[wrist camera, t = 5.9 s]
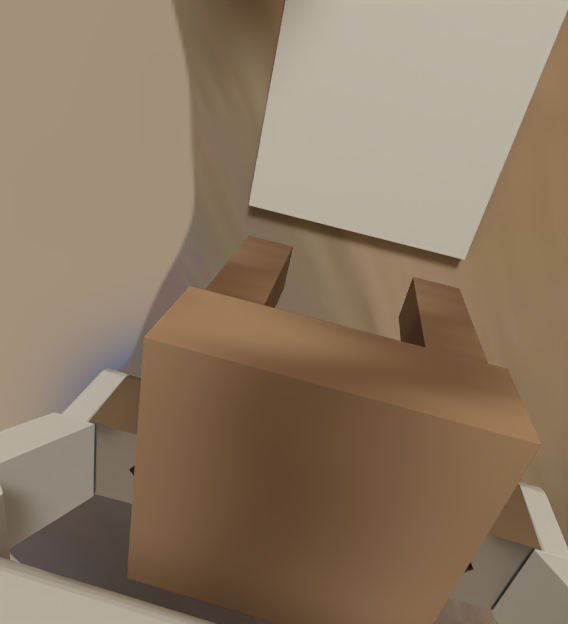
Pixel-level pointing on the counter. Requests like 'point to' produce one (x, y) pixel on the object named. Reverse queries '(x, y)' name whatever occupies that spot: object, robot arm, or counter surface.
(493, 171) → the mat
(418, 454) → the stool
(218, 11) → the counter surface
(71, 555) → the counter surface
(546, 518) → the robot arm
